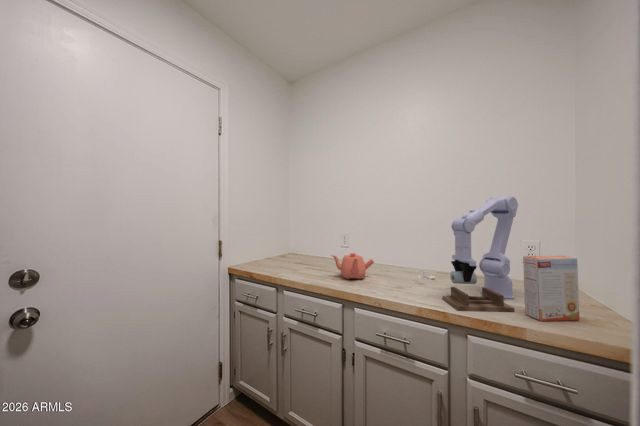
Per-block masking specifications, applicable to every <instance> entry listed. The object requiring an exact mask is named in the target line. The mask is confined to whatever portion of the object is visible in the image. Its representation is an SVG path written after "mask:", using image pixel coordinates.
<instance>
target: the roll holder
mask: <svg viewBox="0 0 640 426" xmlns="http://www.w3.org/2000/svg"><path fill="white" fill-rule="evenodd" d="M481 291H482V293H481V294H482V295H481V296H479V295H478V296H477V295H474V296H473V295H472V296H471V295H469V294H468V293H466V292H464V291H462V290H461V289H459V288H457V287H455V286H450V295H442V298H441V299H442V300H443V301H444V302H446V303H447V304H448V305H450V306H451V307H452V308H454V309H455V311H456V310H457V311H458V312H459V311H460V312H492V313H493V312H494V313H495V312H499V313H500V312H501V313H503V312H504V313H515V307H514V306H511V305H509V304H508V303H505V301H504V299H505V298H504V296H503V295H501V294H499V293H497V292H494V291H492V290H490V289H488V288H485V287H484V286H482V287H481Z"/></svg>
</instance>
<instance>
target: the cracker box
mask: <svg viewBox="0 0 640 426" xmlns="http://www.w3.org/2000/svg"><path fill="white" fill-rule="evenodd" d="M522 257H523V258H522V259H523V263H522V264H523V266H522V267H523V286H524V287H523V288H524V289H523V290H524V291H523V293H524V309H525V310H524V311H525V312H524V313H525V314H524V315H526V316H528V317H531V318H532V319H535V320H537V321H539V322H555V321H558V322H561V321H580V319H581V317H580V316H581V315H580V295H579V273H578V272H579V270H578V258H577V257H572V256H571V257H570V256H566V255H531V256H530V255H529V256H528V255H526V256H525V255H524V256H522Z"/></svg>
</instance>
